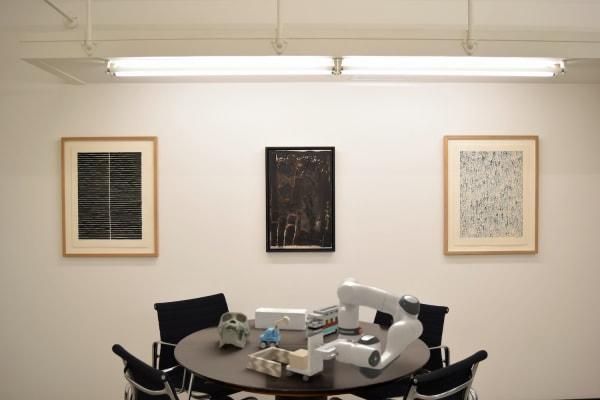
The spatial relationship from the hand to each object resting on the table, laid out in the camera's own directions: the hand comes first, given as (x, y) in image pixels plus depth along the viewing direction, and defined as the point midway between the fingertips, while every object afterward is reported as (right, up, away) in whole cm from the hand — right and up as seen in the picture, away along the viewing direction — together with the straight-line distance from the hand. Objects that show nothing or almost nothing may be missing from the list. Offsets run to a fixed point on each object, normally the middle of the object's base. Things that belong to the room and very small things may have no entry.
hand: (317, 345), depth 219 cm
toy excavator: (-22, -16, +48) cm, 55 cm away
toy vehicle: (+7, -15, +74) cm, 76 cm away
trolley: (-6, -16, +6) cm, 18 cm away
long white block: (-20, -16, +90) cm, 94 cm away
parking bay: (-20, -16, +17) cm, 30 cm away
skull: (-46, -16, +51) cm, 71 cm away
